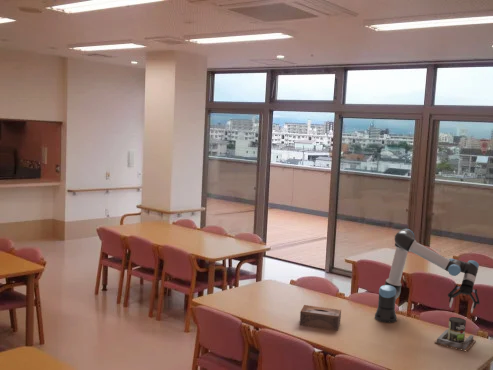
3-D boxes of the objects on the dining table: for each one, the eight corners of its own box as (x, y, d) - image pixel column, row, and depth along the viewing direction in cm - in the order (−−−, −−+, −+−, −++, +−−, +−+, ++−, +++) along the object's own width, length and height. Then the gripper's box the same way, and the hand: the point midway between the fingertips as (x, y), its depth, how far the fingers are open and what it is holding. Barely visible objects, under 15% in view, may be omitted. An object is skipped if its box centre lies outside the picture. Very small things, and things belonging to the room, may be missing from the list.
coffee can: (467, 343, 344) (469, 322, 343) (453, 344, 342) (455, 322, 340) (457, 337, 354) (459, 316, 353) (443, 338, 352) (445, 317, 350)
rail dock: (434, 343, 345) (434, 338, 344) (444, 333, 363) (444, 328, 362) (467, 351, 333) (467, 346, 333) (475, 341, 351) (475, 336, 351)
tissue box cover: (299, 325, 366) (300, 311, 365) (303, 318, 380) (304, 304, 379) (337, 330, 359) (338, 316, 358) (340, 323, 373) (341, 309, 372)
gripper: (488, 288, 362) (481, 316, 352) (450, 280, 376) (442, 307, 366) (487, 283, 357) (480, 311, 347) (448, 275, 370) (440, 302, 361)
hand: (460, 309), depth 357 cm, fingers open, 13 cm apart
